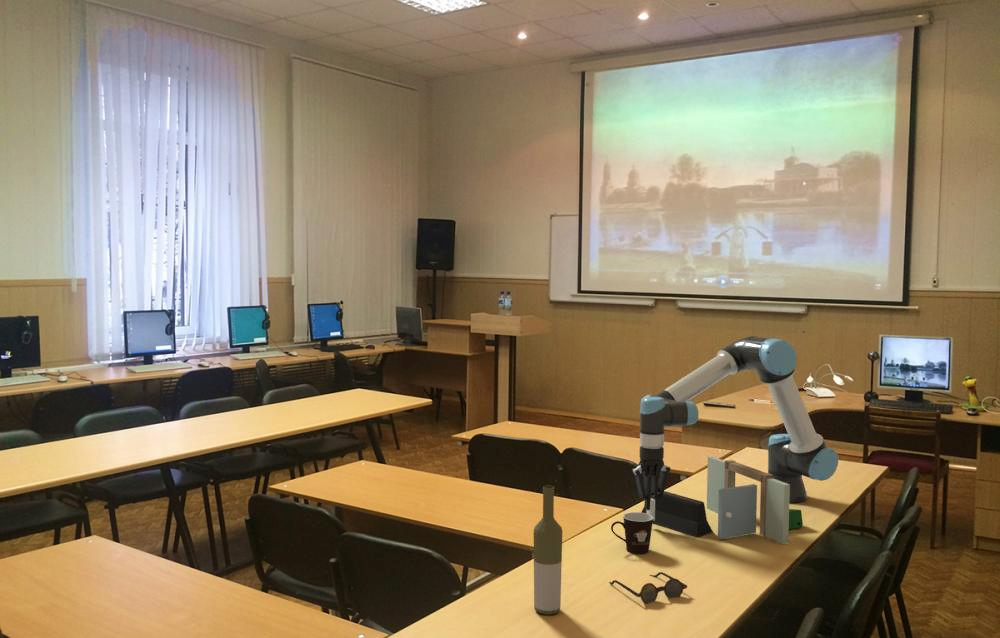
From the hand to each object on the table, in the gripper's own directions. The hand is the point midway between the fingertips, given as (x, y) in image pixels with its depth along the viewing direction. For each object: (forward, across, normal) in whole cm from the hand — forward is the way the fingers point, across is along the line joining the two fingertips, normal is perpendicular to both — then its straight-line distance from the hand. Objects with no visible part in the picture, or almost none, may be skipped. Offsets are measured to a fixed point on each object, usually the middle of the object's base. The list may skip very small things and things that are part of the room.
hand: (650, 519), depth 241 cm
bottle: (+3, +55, +44) cm, 71 cm away
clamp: (+3, -41, +12) cm, 43 cm away
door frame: (+3, -31, +8) cm, 32 cm away
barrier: (+3, -9, 0) cm, 10 cm away
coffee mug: (+3, +15, +15) cm, 22 cm away
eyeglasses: (+4, +26, +41) cm, 49 cm away
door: (+2, -21, +17) cm, 27 cm away
